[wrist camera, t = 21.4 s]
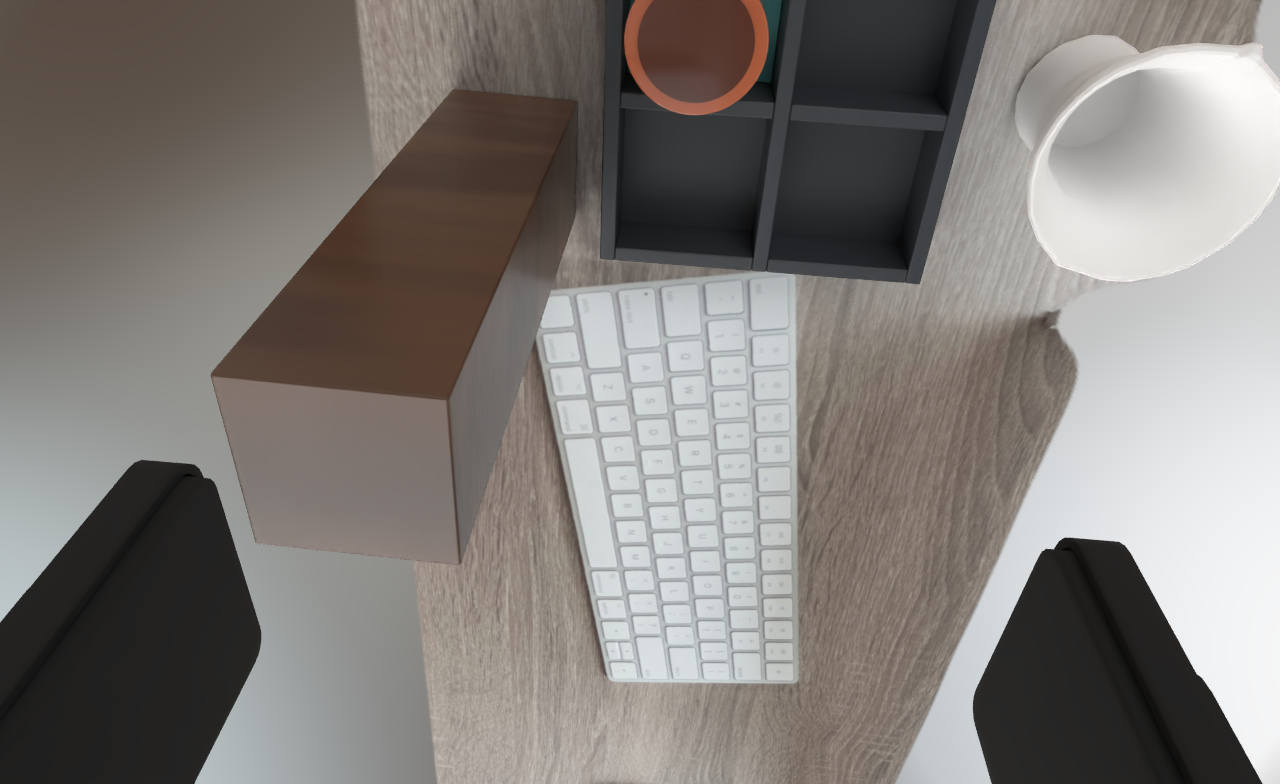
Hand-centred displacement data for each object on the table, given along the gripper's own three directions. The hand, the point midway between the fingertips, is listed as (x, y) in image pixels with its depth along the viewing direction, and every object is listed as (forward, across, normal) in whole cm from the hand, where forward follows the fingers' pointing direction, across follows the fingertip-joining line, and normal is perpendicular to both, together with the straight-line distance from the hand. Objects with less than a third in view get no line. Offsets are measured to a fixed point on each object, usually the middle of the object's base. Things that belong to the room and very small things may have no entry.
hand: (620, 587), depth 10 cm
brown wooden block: (+34, +8, +8) cm, 36 cm away
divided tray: (+34, -5, +4) cm, 34 cm away
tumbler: (+33, -1, 0) cm, 33 cm away
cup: (+34, -18, +3) cm, 38 cm away
